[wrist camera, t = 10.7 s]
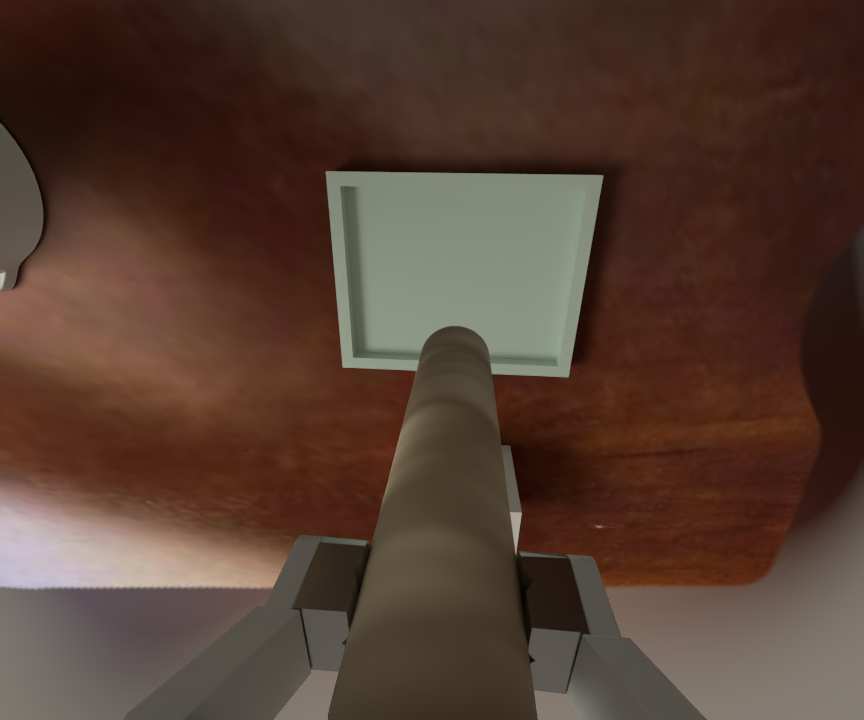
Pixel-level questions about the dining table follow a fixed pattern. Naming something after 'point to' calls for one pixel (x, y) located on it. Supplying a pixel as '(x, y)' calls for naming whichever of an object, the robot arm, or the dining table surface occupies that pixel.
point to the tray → (461, 264)
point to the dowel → (441, 561)
